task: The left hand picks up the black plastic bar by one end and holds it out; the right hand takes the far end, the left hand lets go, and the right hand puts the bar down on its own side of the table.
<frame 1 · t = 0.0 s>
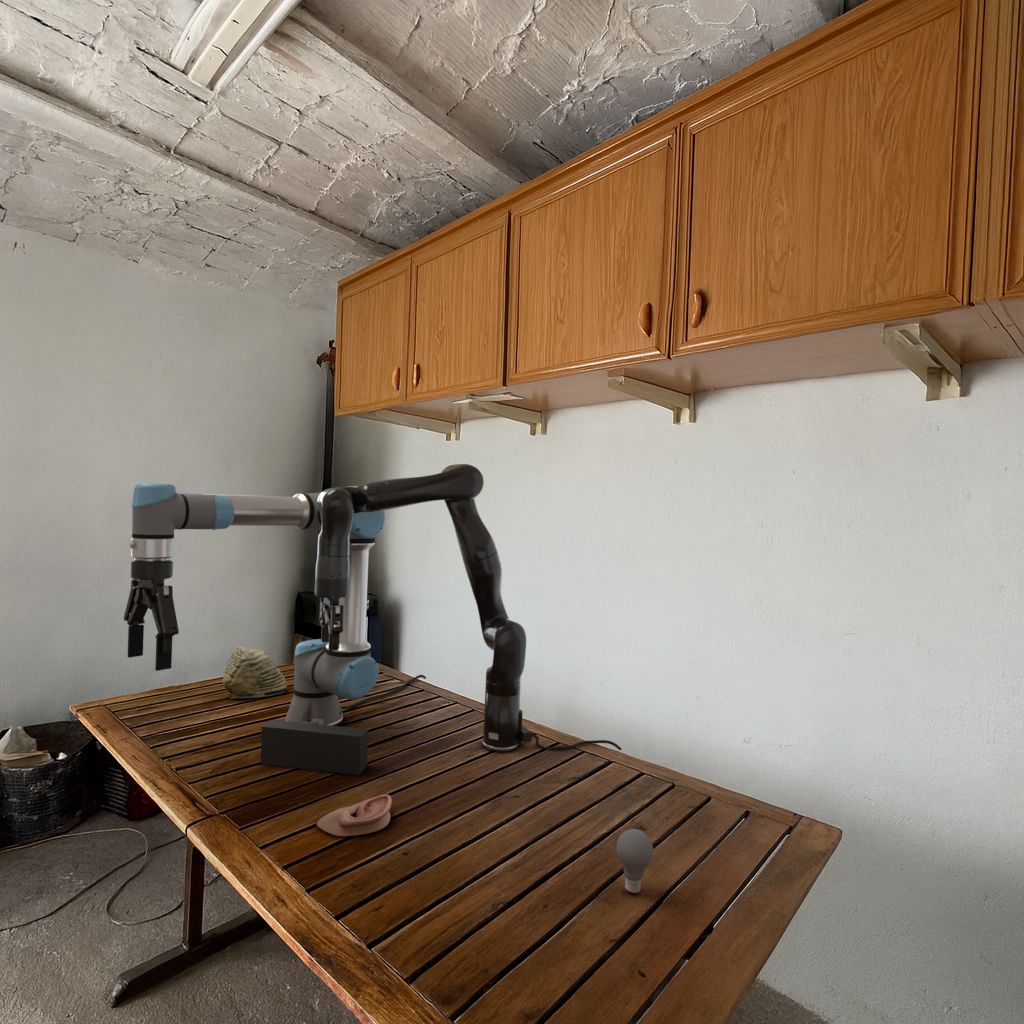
left hand: (148, 662, 129), 28 cm above the table, tool pointing down, fingers open, 13 cm apart
right hand: (329, 646, 145), 29 cm above the table, tool pointing down, fingers open, 8 cm apart
anatomical model: (354, 823, 124), on the table
fossil: (254, 694, 198), on the table
bar: (313, 765, 149), on the table
light bulb: (632, 891, 106), on the table
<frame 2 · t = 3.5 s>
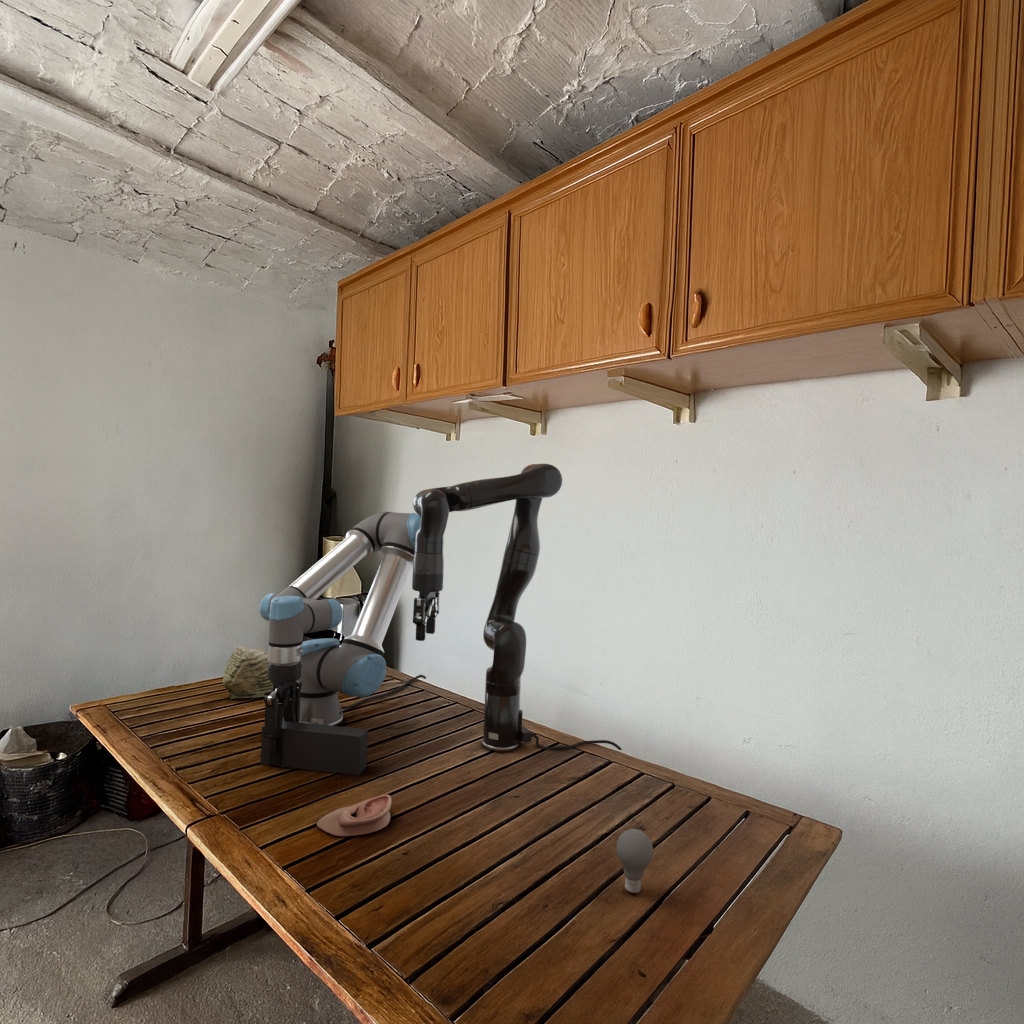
left hand: (281, 759, 150), 1 cm above the table, tool pointing down, fingers closed on bar, 5 cm apart
right hand: (425, 636, 155), 30 cm above the table, tool pointing down, fingers open, 8 cm apart
bar: (313, 765, 149), on the table, touching left hand
everything else where it was.
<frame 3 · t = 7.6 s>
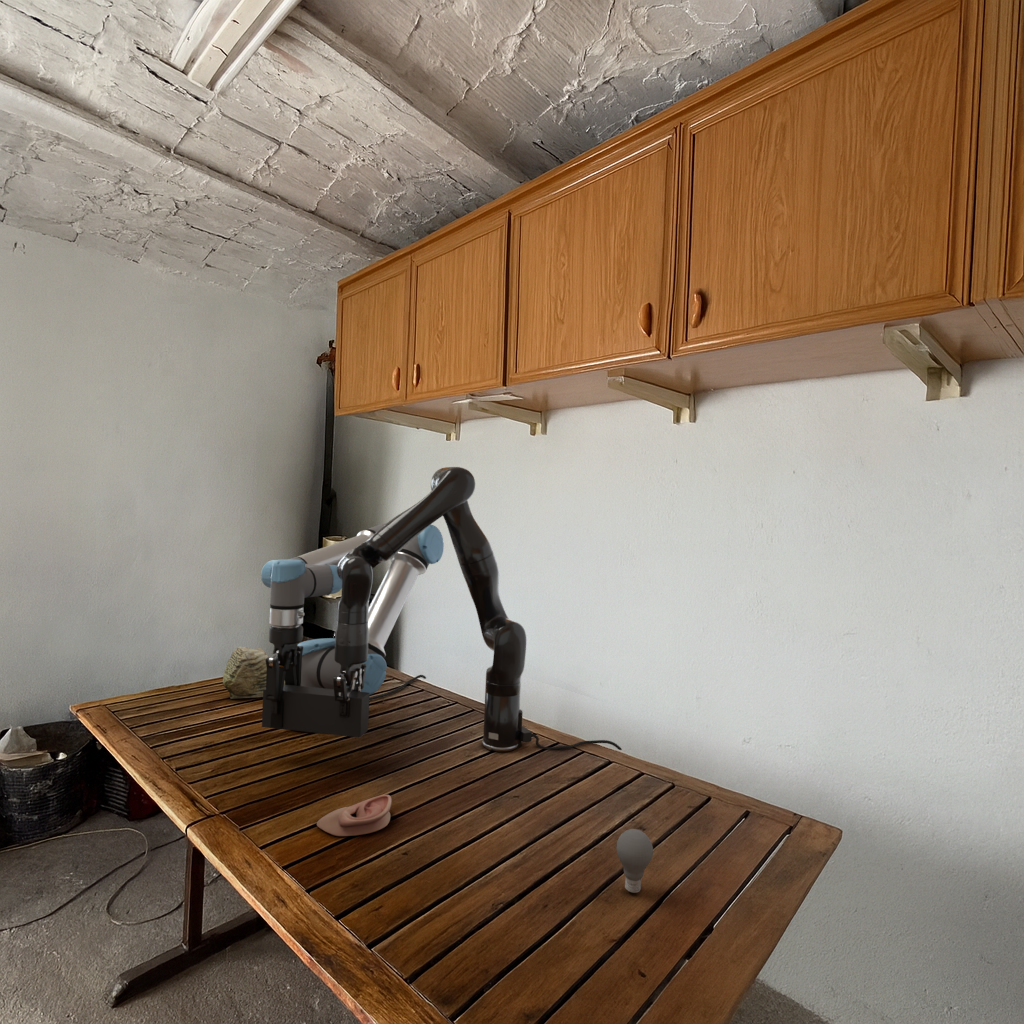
left hand: (282, 723, 150), 9 cm above the table, tool pointing down, fingers closed on bar, 5 cm apart
right hand: (349, 713, 147), 13 cm above the table, tool pointing down, fingers closed on bar, 4 cm apart
bar: (315, 728, 149), point 9 cm above the table, touching left hand, right hand
everything else where it was.
when the left hand's fingers open (9 cm above the table, at t = 8.4 s): bar stays where it is, held by the right hand.
when the right hand's fingers open (6 cm above the table, at t = 15.4 s): bar drops 1 cm, on the table.
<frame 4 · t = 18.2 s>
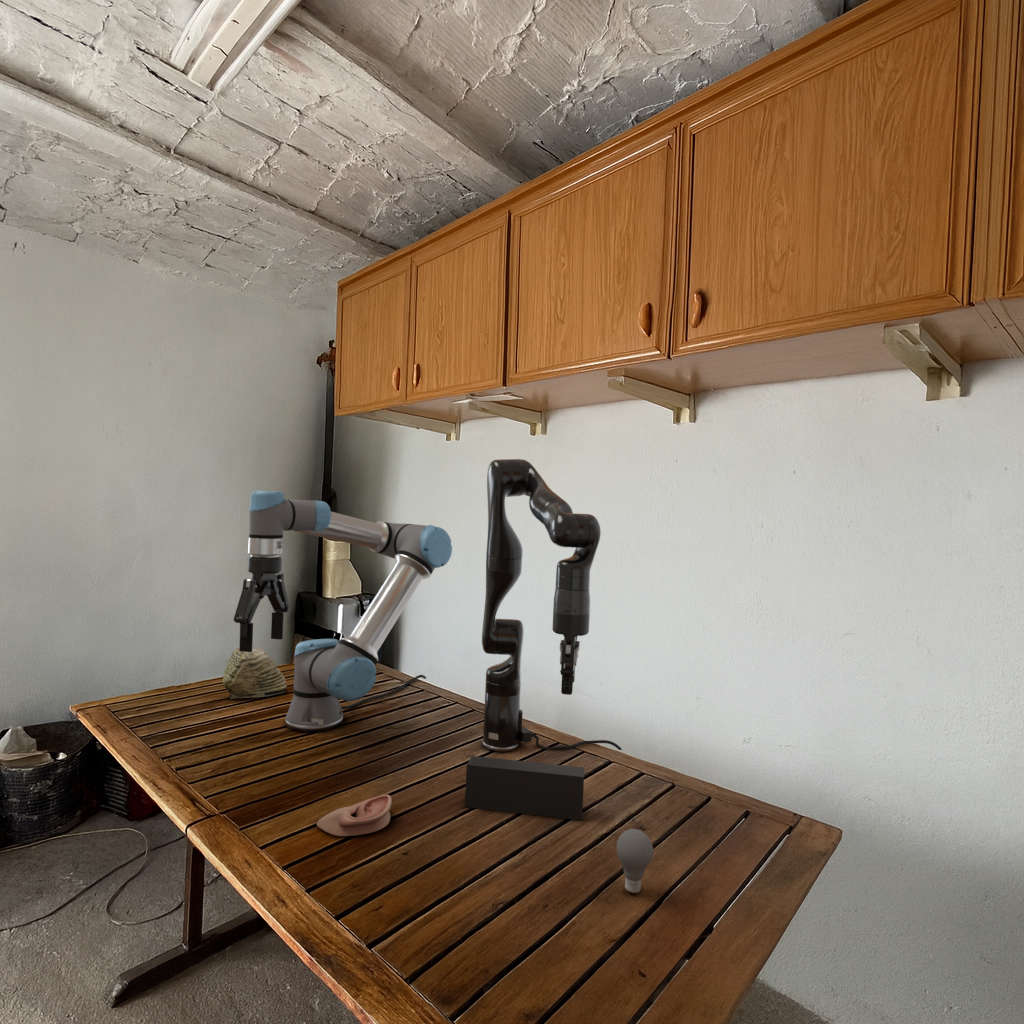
left hand: (261, 645, 150), 27 cm above the table, tool pointing down, fingers open, 13 cm apart
right hand: (567, 687, 131), 26 cm above the table, tool pointing down, fingers open, 8 cm apart
bar: (523, 808, 133), on the table
everything else where it was.
at the end: bar inside the target area (8.0 cm from its centre), on the table; the left hand is holding nothing; the right hand is holding nothing; bar at rest at the end (0.0 cm/s) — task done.
